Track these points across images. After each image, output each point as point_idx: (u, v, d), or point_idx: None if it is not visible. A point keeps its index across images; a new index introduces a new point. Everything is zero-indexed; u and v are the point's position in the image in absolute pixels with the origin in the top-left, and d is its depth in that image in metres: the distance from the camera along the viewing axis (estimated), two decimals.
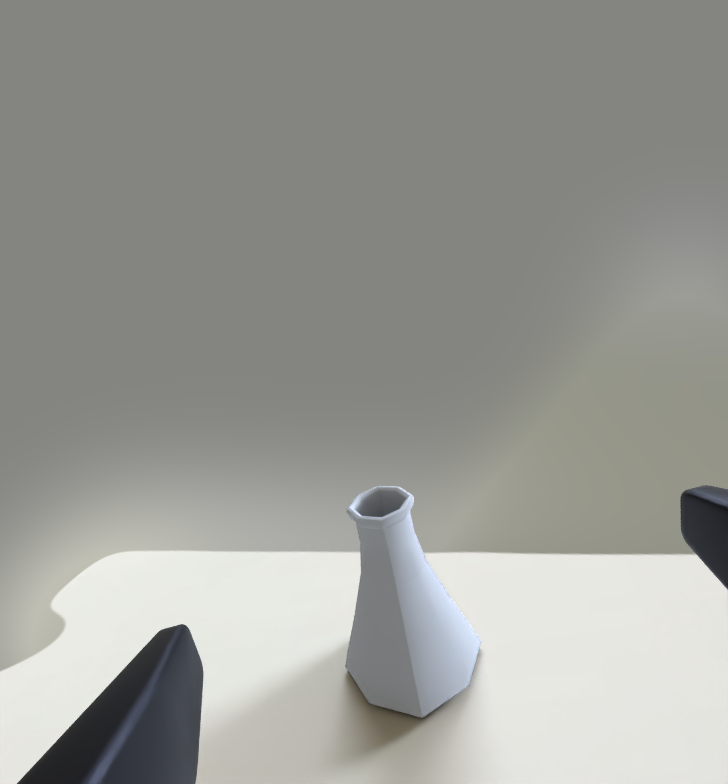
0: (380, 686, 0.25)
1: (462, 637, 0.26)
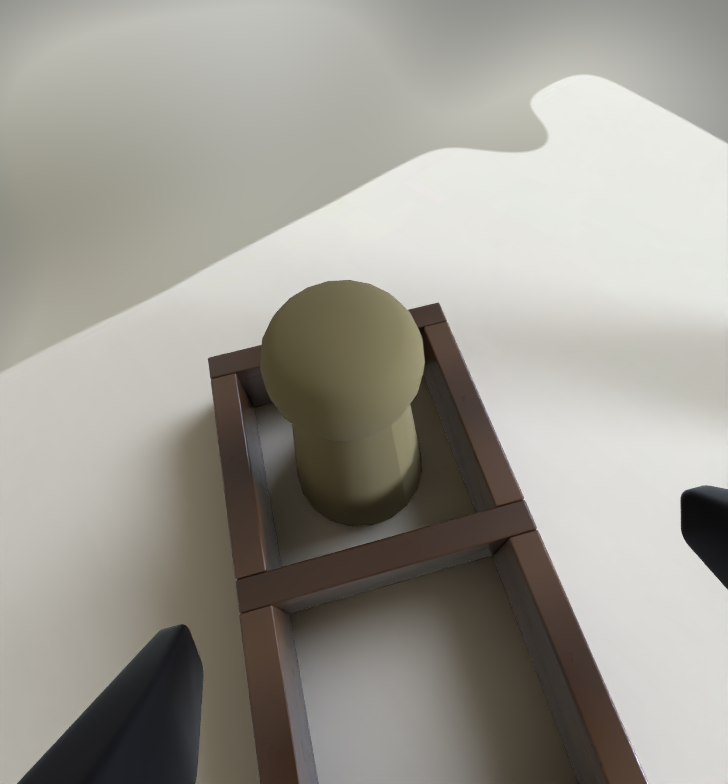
0: None
1: None
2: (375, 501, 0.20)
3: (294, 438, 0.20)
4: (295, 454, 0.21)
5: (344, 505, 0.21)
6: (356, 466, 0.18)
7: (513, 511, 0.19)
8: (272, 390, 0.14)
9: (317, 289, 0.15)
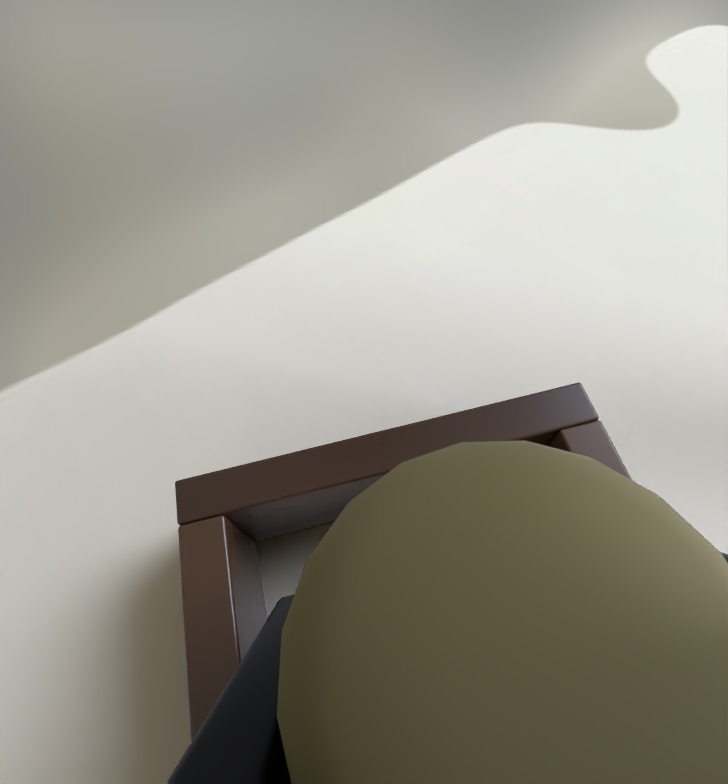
0: None
1: None
2: None
3: None
4: None
5: None
6: None
7: None
8: None
9: (451, 489, 0.05)
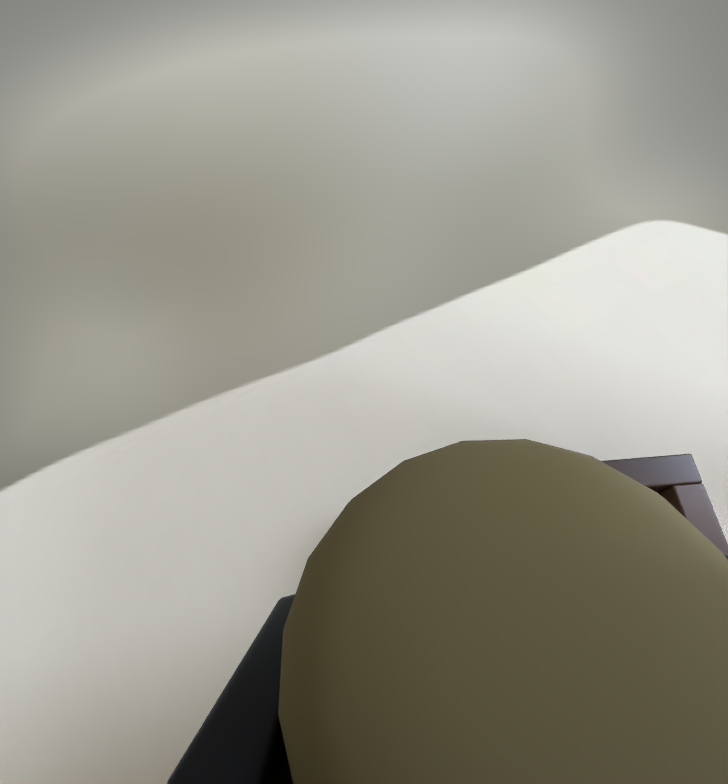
0: None
1: None
2: None
3: None
4: None
5: None
6: None
7: None
8: None
9: (453, 488, 0.05)
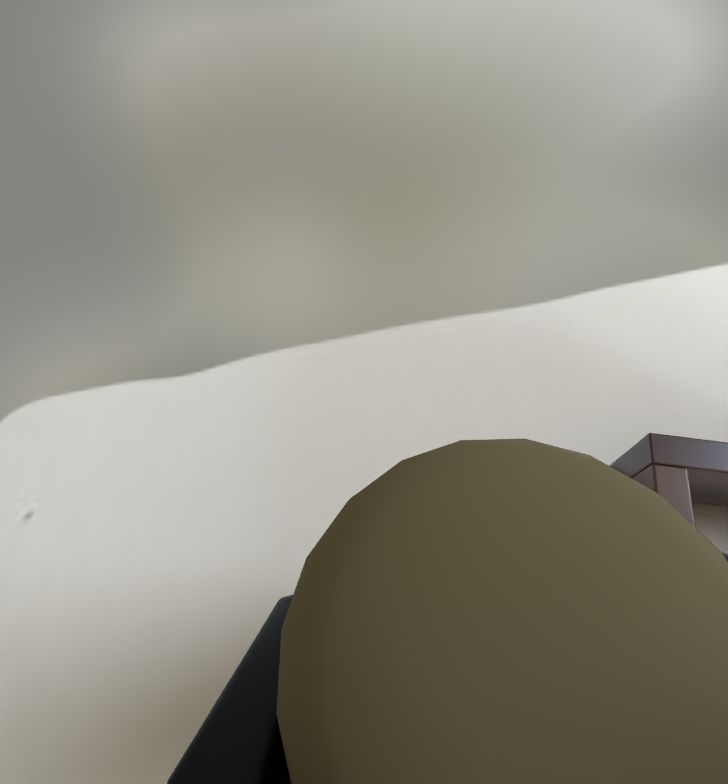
0: None
1: None
2: None
3: None
4: None
5: None
6: None
7: None
8: None
9: (451, 487, 0.05)
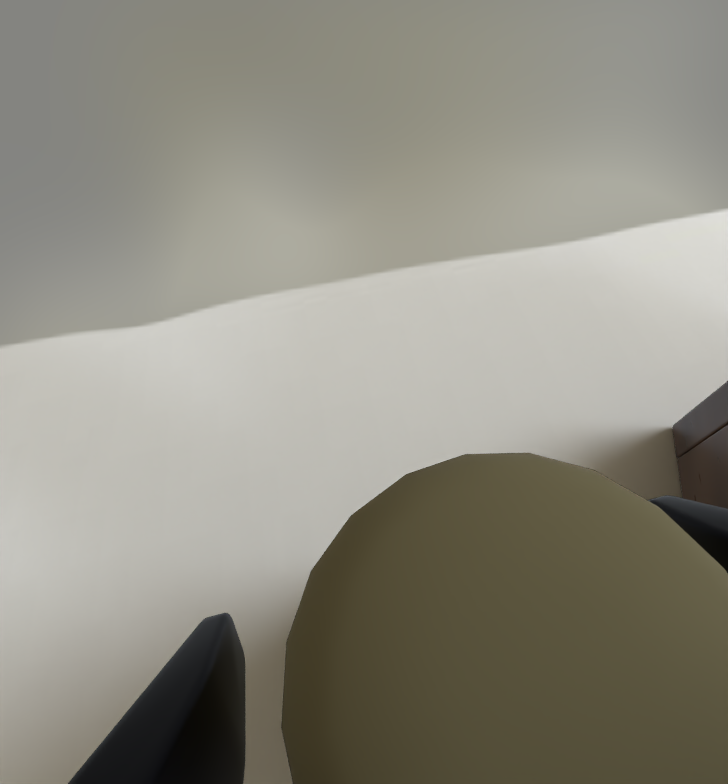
0: None
1: None
2: None
3: None
4: None
5: None
6: None
7: None
8: None
9: (457, 503, 0.05)
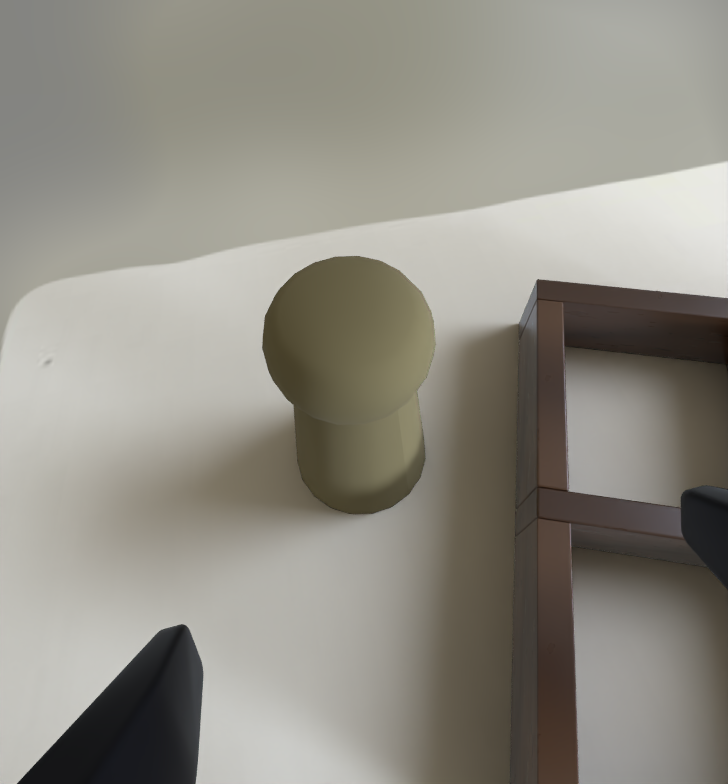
0: None
1: None
2: (378, 489, 0.20)
3: (295, 422, 0.19)
4: None
5: (345, 492, 0.20)
6: (359, 452, 0.17)
7: None
8: (274, 369, 0.14)
9: (324, 264, 0.14)
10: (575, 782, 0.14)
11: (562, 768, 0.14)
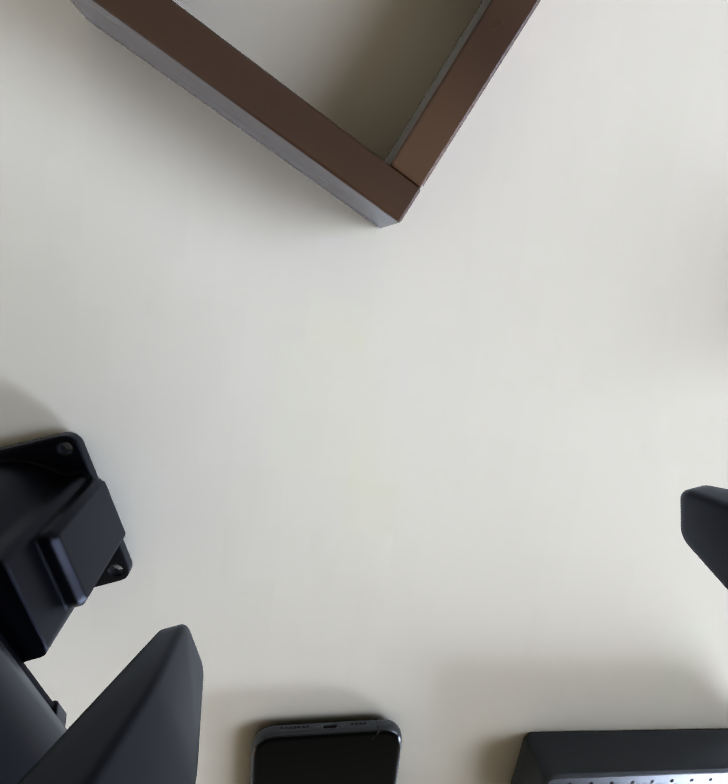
0: None
1: None
2: None
3: None
4: None
5: None
6: None
7: None
8: None
9: None
10: None
11: None
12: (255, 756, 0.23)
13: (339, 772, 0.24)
